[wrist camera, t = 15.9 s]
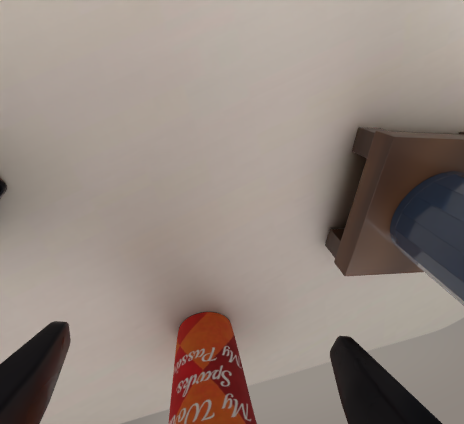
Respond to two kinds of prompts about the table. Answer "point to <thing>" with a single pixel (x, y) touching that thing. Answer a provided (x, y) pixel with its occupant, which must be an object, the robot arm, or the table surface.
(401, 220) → the tumbler
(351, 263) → the stand
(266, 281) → the table surface
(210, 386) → the paper cup
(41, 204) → the table surface
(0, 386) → the robot arm
